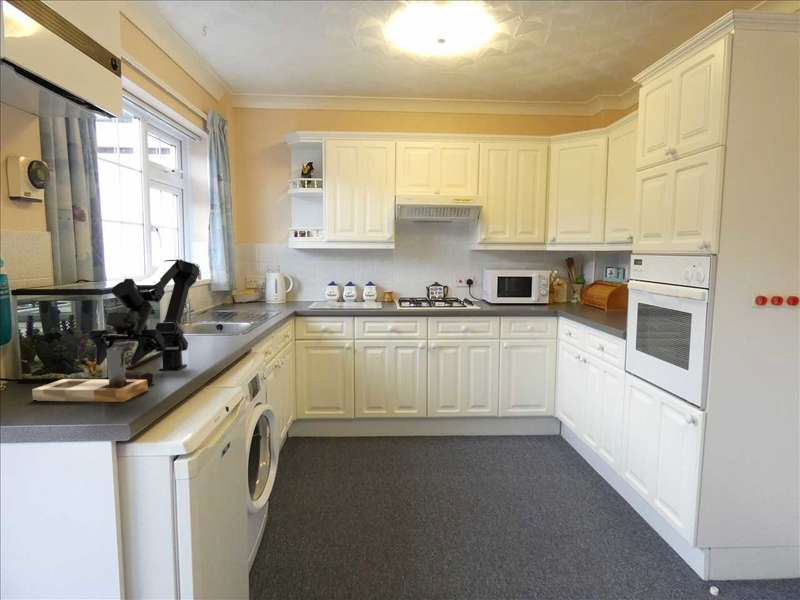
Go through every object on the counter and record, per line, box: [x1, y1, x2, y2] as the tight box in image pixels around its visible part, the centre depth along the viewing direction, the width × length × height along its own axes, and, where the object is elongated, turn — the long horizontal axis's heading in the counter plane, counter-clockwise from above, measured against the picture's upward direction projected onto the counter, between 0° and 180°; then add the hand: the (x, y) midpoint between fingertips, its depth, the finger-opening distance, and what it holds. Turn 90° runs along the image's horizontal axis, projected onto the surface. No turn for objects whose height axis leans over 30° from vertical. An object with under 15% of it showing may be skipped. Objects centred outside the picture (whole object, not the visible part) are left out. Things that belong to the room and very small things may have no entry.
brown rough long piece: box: [126, 369, 154, 386], centre depth 133 cm, size 19×4×5 cm, turn 62°
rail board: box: [31, 378, 149, 403], centre depth 119 cm, size 10×25×3 cm, turn 87°
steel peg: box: [106, 346, 127, 388], centre depth 118 cm, size 4×4×13 cm
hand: (114, 364), depth 117 cm, fingers open, 9 cm apart
